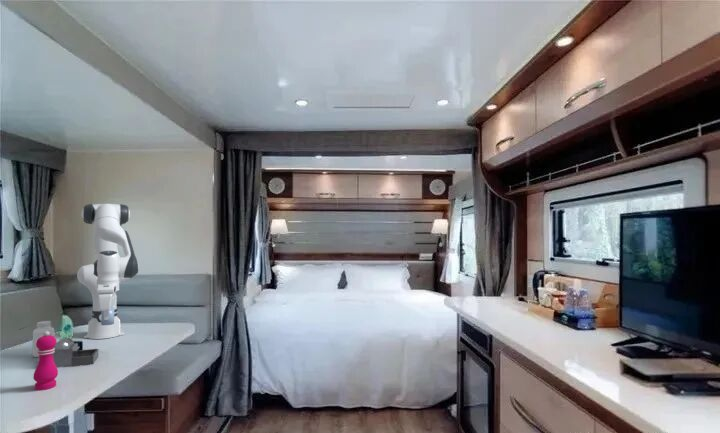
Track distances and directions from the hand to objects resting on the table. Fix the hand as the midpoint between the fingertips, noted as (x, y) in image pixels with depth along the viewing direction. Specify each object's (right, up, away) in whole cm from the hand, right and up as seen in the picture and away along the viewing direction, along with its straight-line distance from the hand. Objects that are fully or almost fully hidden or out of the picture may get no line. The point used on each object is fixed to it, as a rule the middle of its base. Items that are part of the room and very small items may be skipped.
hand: (107, 318), depth 196 cm
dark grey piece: (-9, -17, -8) cm, 21 cm away
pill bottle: (-31, -18, +3) cm, 36 cm away
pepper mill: (0, -16, -38) cm, 41 cm away
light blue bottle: (0, -3, 0) cm, 3 cm away
